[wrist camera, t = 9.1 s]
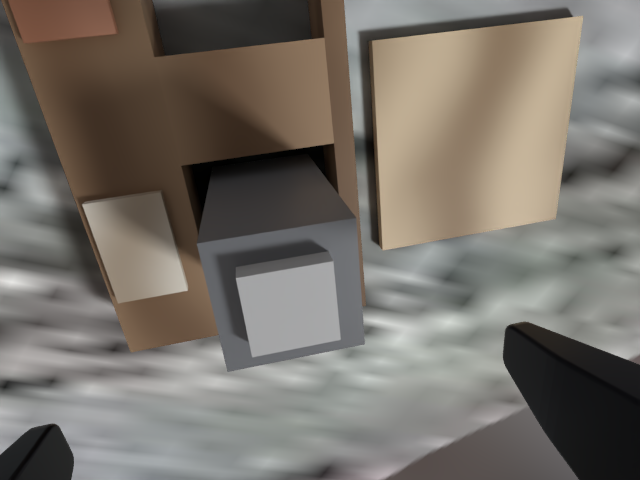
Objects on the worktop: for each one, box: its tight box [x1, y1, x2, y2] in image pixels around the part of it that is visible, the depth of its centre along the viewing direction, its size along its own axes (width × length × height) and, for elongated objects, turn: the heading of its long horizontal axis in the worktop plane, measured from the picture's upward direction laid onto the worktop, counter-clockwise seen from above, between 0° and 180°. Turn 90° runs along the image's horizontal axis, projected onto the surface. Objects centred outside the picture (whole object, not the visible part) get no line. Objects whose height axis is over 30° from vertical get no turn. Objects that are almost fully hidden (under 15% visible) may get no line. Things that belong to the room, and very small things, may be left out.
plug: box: [197, 154, 365, 372], centre depth 15 cm, size 4×4×9 cm
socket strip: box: [1, 0, 366, 352], centre depth 15 cm, size 10×18×3 cm, turn 6°
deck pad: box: [369, 16, 583, 250], centre depth 19 cm, size 9×9×1 cm
